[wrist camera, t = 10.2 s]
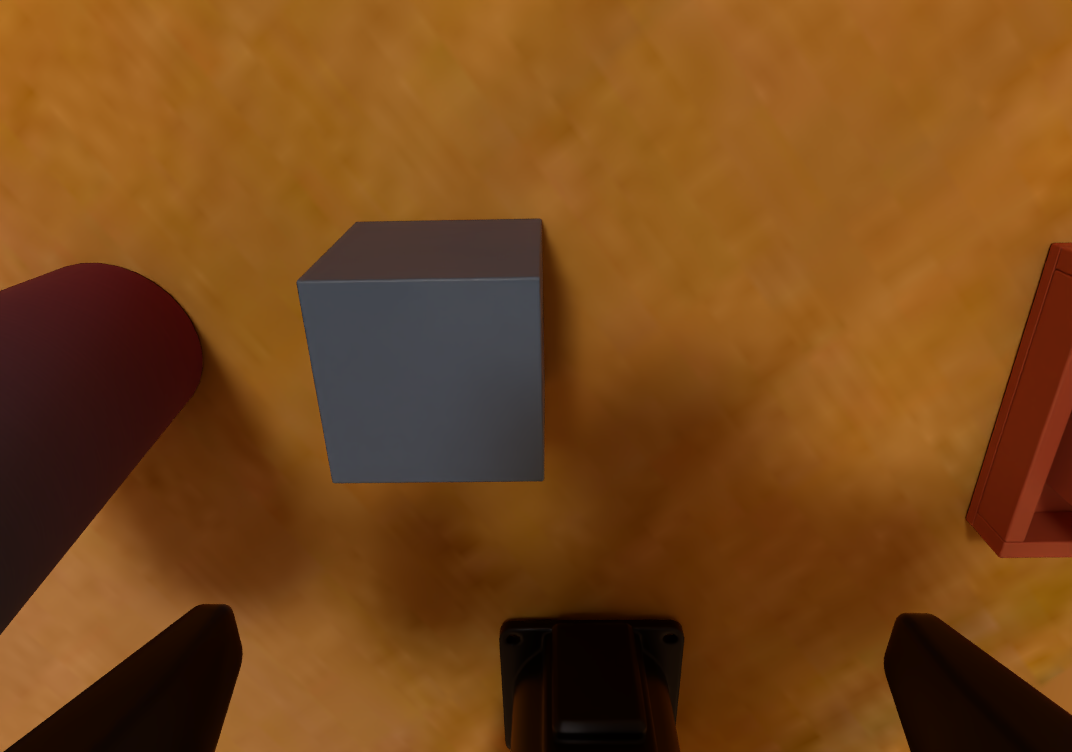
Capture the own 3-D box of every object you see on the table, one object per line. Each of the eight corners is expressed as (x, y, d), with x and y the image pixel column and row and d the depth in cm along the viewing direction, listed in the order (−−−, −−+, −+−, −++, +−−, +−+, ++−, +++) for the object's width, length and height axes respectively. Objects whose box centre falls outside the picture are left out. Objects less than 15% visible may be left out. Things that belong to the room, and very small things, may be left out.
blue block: (544, 385, 21) (544, 482, 16) (377, 387, 21) (331, 484, 16) (542, 218, 19) (540, 277, 14) (355, 221, 19) (294, 281, 14)
